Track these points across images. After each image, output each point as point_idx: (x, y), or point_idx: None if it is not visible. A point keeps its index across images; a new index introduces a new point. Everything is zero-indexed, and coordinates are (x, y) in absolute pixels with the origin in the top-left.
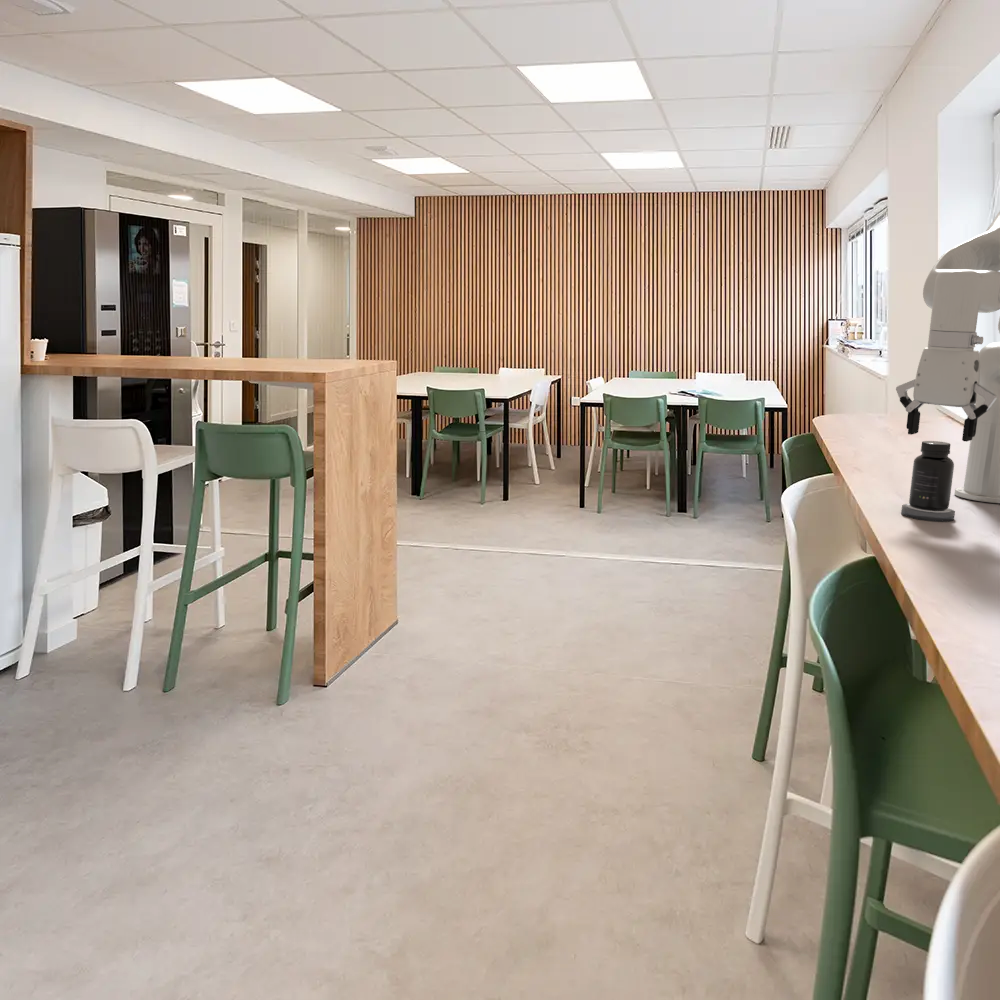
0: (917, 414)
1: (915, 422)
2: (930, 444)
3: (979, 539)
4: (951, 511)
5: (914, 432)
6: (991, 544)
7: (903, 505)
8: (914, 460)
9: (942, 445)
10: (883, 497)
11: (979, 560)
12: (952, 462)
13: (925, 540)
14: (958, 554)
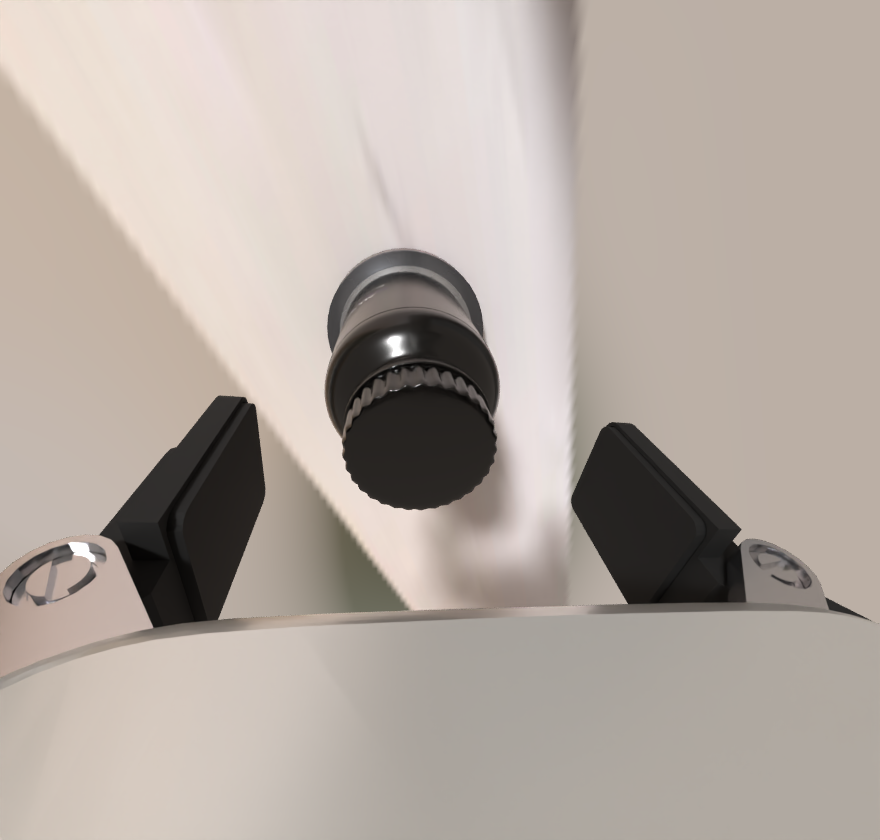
0: (202, 566)
1: (236, 525)
2: (409, 508)
3: (549, 486)
4: (472, 321)
5: (259, 465)
6: (569, 507)
7: (334, 347)
8: (336, 430)
9: (465, 490)
10: (107, 4)
11: (552, 604)
12: (497, 404)
13: (466, 561)
14: (524, 597)
